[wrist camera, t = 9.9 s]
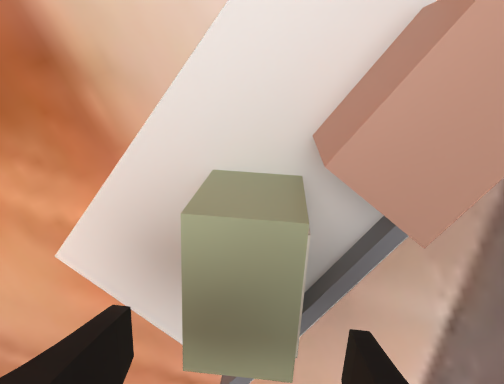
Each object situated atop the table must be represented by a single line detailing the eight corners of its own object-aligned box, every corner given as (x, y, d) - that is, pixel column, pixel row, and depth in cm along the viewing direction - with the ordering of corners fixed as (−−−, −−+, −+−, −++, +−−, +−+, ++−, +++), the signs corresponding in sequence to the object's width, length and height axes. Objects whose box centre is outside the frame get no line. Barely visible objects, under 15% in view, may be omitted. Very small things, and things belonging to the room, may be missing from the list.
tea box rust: (499, 79, 16) (615, 84, 10) (383, 194, 18) (427, 251, 13) (423, 7, 15) (502, -29, 10) (312, 135, 18) (324, 166, 12)
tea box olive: (305, 176, 18) (313, 224, 13) (293, 296, 20) (296, 383, 15) (212, 169, 19) (180, 213, 13) (211, 288, 21) (182, 370, 15)
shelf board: (525, 95, 17) (563, 99, 15) (237, 371, 24) (231, 403, 21) (308, -111, 15) (312, -143, 13) (62, 249, 22) (36, 270, 20)
